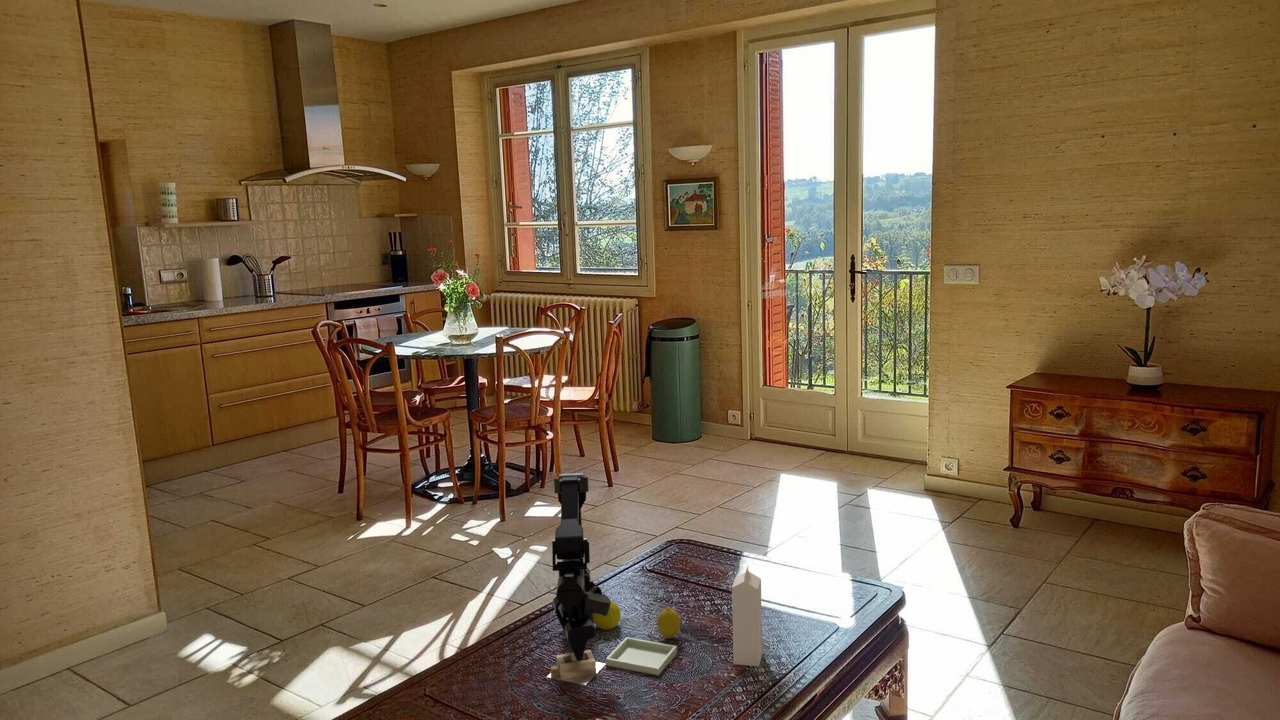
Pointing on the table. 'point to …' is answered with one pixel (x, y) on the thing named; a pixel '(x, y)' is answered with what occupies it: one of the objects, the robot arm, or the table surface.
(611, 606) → the tennis ball
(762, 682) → the table surface
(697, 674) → the table surface
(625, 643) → the tray
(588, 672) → the wooden rectangular frame
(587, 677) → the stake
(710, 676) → the table surface
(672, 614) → the lemon
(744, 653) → the milk
